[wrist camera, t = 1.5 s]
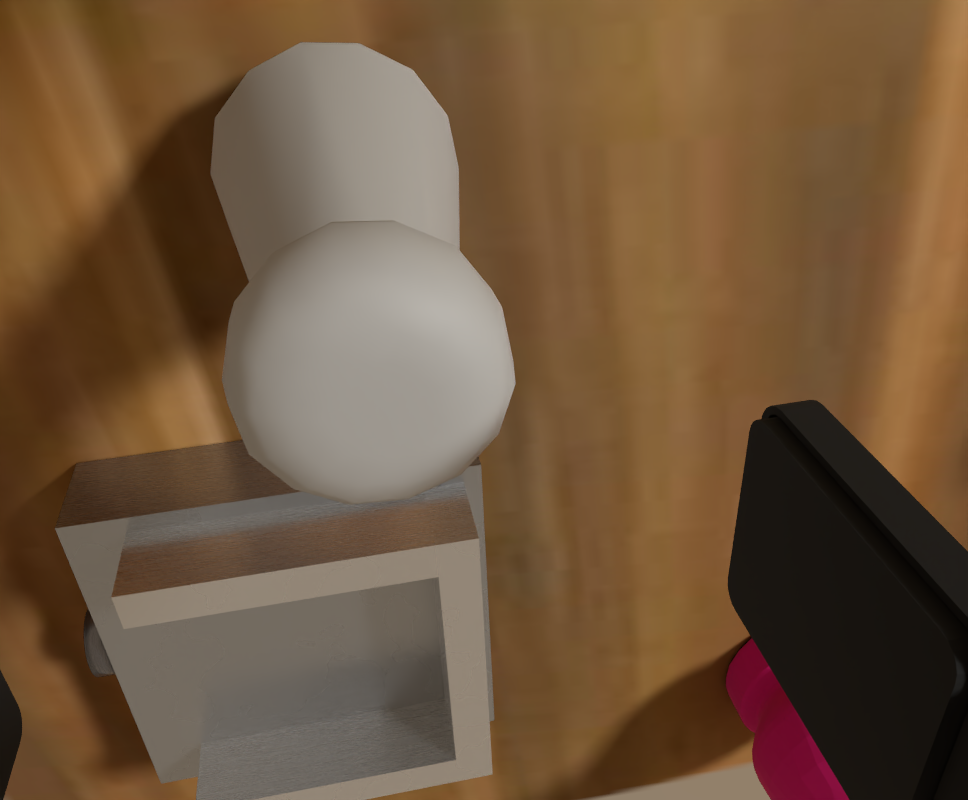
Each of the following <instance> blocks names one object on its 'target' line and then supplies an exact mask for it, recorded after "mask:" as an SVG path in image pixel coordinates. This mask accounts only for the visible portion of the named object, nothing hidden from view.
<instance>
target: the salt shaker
mask: <svg viewBox="0 0 968 800" xmlns="http://www.w3.org/2000/svg"><path fill="white" fill-rule="evenodd" d="M210 174H211V177H212V180H213V183H214V186H215V189H216V191H217V194H218V197H219V200H220V203H221V206H222V209H223V211H224V214H225V217H226V220H227V223H228V226H229V228H230V231H231V234H232V236H233V239H234V242H235V245H236V247H237V250H238V253H239V256H240V258H241V261H242V264H243V267H244V269H245V272H246V275H247V277H248V280H249V283H248V284H247V286H246V287H245V288H244V290H243V291H242V292H241V294H240V295H239V296H238V297H237V299H236V300H235V301H234V304H233V308H232V311H231V315H230V319H229V324H228V332H227V341H226V350H225V359H224V367H223V376H222V382H223V386H224V390H225V394H226V399H227V403H228V406H229V408H230V410H231V413H232V415H233V418H234V420H235V422H236V425H237V427H238V429H239V432H240V434H241V437H242V439H243V441H244V444H245V446H246V449H247V451H248V453H249V455H250V456H252V457H253V458H254V459H256V460H257V461H258V462H259V463H261V464H262V465H263V466H265V467H266V468H267V469H268V470H270V471H271V472H272V473H274V474H275V475H276V476H277V477H279V478H280V479H281V480H283V481H284V482H285V483H286V484H288V485H289V486H290V487H292V488H293V489H295V490H299V491H302V492H306V493H309V494H313V495H316V496H320V497H323V498H327V499H330V500H334V501H338V502H341V503H345V504H348V505H353V504H363V503H373V502H383V501H393V500H403V499H409V498H412V497H414V496H416V495H418V494H420V493H422V492H425V491H427V490H429V489H431V488H433V487H436V486H438V485H440V484H442V483H444V482H447V481H449V480H451V479H453V478H455V477H457V476H460V475H461V474H462V473H463V472H464V471H465V470H466V469H467V468H468V467H469V466H470V465H471V463H472V462H473V461H474V460H475V459H476V458H477V457H478V456H479V455H480V454H481V453H482V451H483V450H484V449H485V448H486V447H487V446H488V445H489V444H490V443H491V442H492V441H493V440H494V438H495V437H496V436H497V435H498V434H499V431H500V428H501V425H502V422H503V419H504V416H505V413H506V410H507V407H508V404H509V401H510V398H511V395H512V393H513V390H514V387H515V374H514V363H513V357H512V353H511V348H510V343H509V338H508V333H507V329H506V324H505V319H504V314H503V309H502V306H501V305H500V303H499V301H498V300H497V298H496V296H495V294H494V293H493V291H492V289H491V288H490V287H489V286H488V284H487V283H486V282H485V281H484V280H483V278H482V277H481V276H480V275H479V274H478V272H477V271H476V270H475V269H474V267H473V266H472V265H471V264H470V263H469V261H468V260H467V259H466V258H465V257H464V255H463V254H462V253H461V252H460V250H459V167H458V163H457V158H456V153H455V148H454V144H453V139H452V134H451V129H450V124H449V120H448V115H447V114H446V113H445V112H444V110H443V109H442V108H441V106H440V105H439V104H438V102H437V101H436V100H435V98H434V97H433V96H432V94H431V93H430V92H429V90H428V89H427V88H426V86H425V85H424V84H423V82H422V81H421V80H420V79H419V77H418V76H417V75H416V73H415V72H414V71H413V70H412V69H410V68H408V67H406V66H404V65H402V64H400V63H398V62H396V61H394V60H392V59H390V58H388V57H386V56H384V55H382V54H380V53H378V52H376V51H374V50H372V49H370V48H368V47H365V46H363V45H361V44H359V43H321V42H301V43H299V44H297V45H295V46H293V47H291V48H289V49H288V50H286V51H284V52H282V53H280V54H278V55H277V56H275V57H273V58H271V59H269V60H267V61H265V62H264V63H262V64H260V65H258V66H256V67H254V68H253V69H251V70H249V71H248V72H247V74H246V75H245V77H244V78H243V79H242V81H241V82H240V84H239V85H238V86H237V88H236V89H235V91H234V92H233V93H232V95H231V96H230V98H229V99H228V100H227V102H226V103H225V105H224V106H223V107H222V109H221V110H220V112H219V113H218V114H217V116H216V117H215V123H214V135H213V147H212V160H211V172H210Z"/></svg>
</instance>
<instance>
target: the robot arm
mask: <svg viewBox="0 0 968 800" xmlns="http://www.w3.org/2000/svg"><path fill="white" fill-rule="evenodd" d="M728 591H729V595H730V599H731V602H732V605H733V607H734V609H735V610H736V612H737V614H738V615H739V617H740V619H741V620H742V622H743V624H744V625H745V627H746V629H747V630H748V632H749V634H750V635H751V637H752V639H753V640H754V642H755V644H756V645H757V647H758V649H759V650H760V652H761V654H762V655H763V657H764V659H765V660H766V662H767V664H768V665H769V667H770V669H771V670H772V672H773V674H774V675H775V677H776V679H777V680H778V682H779V684H780V685H781V687H782V689H783V690H784V692H785V694H786V695H787V697H788V698H789V700H790V702H791V703H792V705H793V707H794V708H795V710H796V712H797V713H798V715H799V717H800V718H801V720H802V722H803V723H804V725H805V727H806V728H807V730H808V732H809V733H810V735H811V737H812V738H813V740H814V742H815V743H816V745H817V747H818V748H819V750H820V752H821V753H822V755H823V757H824V758H825V760H826V762H827V763H828V765H829V767H830V768H831V770H832V772H833V773H834V775H835V777H836V778H837V780H838V782H839V783H840V785H841V786H842V788H843V790H844V791H845V793H846V795H847V796H848V798H849V800H968V551H967V550H966V549H965V548H964V547H963V546H962V545H961V544H960V543H959V542H958V541H957V540H956V539H955V538H954V537H953V536H952V535H951V534H950V533H949V532H948V531H947V530H946V529H945V528H944V527H943V526H942V525H941V524H940V523H939V522H938V521H937V520H936V519H935V518H934V517H933V516H932V515H931V514H930V513H929V512H928V511H927V510H926V509H925V508H924V507H923V506H922V505H921V504H920V503H919V502H918V501H917V500H916V499H915V498H914V497H913V496H912V495H911V494H910V493H909V492H908V491H907V490H906V489H905V488H904V487H903V486H902V485H901V484H900V483H899V482H898V481H897V480H896V479H895V478H894V477H893V476H892V475H891V474H890V473H889V472H888V471H887V469H886V468H885V467H884V466H883V465H882V464H881V463H880V462H879V461H878V460H877V459H876V458H875V457H874V456H873V455H872V454H871V453H870V452H869V451H868V450H867V449H866V448H865V447H864V446H863V445H862V444H861V443H860V442H859V441H858V440H857V439H856V438H855V437H854V436H853V435H852V434H851V433H850V432H849V431H848V430H847V429H846V428H845V427H844V426H843V425H842V424H841V423H840V422H839V421H838V420H837V419H836V418H835V417H834V416H833V415H832V414H831V413H830V412H829V411H828V410H827V409H826V408H825V407H824V406H823V405H822V404H821V403H819V402H818V401H815V400H807V401H800V402H794V403H787V404H780V405H774V406H770V407H768V408H766V410H765V411H764V413H763V415H762V419H760V420H756V421H754V422H753V423H752V425H751V428H750V432H749V439H748V445H747V452H746V459H745V466H744V473H743V480H742V486H741V493H740V500H739V507H738V514H737V520H736V527H735V534H734V541H733V548H732V554H731V561H730V568H729V575H728ZM21 735H22V718H21V713H20V709H19V707H18V704H17V702H16V700H15V698H14V696H13V694H12V692H11V690H10V688H9V686H8V684H7V682H6V681H5V679H4V677H3V675H2V673H1V671H0V800H3V798H4V795H5V791H6V788H7V785H8V781H9V778H10V775H11V771H12V768H13V764H14V761H15V758H16V754H17V751H18V748H19V744H20V740H21Z"/></svg>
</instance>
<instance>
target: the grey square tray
mask: <svg viewBox="0 0 968 800" xmlns="http://www.w3.org/2000/svg"><path fill="white" fill-rule="evenodd" d="M55 530H56V532H57V535H58V537H59V540H60V542H61V544H62V547H63V549H64V552H65V554H66V556H67V559H68V561H69V564H70V566H71V568H72V571H73V573H74V576H75V578H76V580H77V583H78V585H79V587H80V590H81V592H82V595H83V597H84V599H85V602H86V604H87V607H88V609H87V612H86V616H85V621H84V647H85V653H86V658H87V662H88V665H89V668H90V670H91V672H92V673H93V675H94V676H96V677H103V676H109V675H115V674H116V676H117V679H118V681H119V683H120V686H121V688H122V691H123V693H124V695H125V698H126V700H127V703H128V705H129V707H130V710H131V712H132V715H133V717H134V719H135V722H136V724H137V727H138V729H139V731H140V734H141V736H142V739H143V741H144V743H145V746H146V748H147V750H148V753H149V755H150V758H151V760H152V762H153V765H154V767H155V770H156V772H157V774H158V777H159V779H160V782H161V783H166V782H172V781H177V780H182V779H187V778H193V777H198V783H197V794H196V800H366V799H371V798H376V797H381V796H386V795H391V794H396V793H401V792H406V791H411V790H416V789H421V788H426V787H431V786H436V785H441V784H446V783H451V782H456V781H461V780H466V779H471V778H476V777H481V776H487V775H492V758H491V740H490V723H489V721H493V720H494V705H493V686H492V667H491V648H490V629H489V609H488V590H487V571H486V552H485V533H484V514H483V495H482V475H481V464H480V460H479V457H477V458H476V459H475V460H474V461H473V462H472V463H471V465H470V466H469V467H468V468H467V469H466V470H465V471H464V472H463V473H462V474H461V475H460V476H457V477H455V478H453V479H451V480H449V481H447V482H444V483H442V484H440V485H438V486H436V487H433V488H431V489H429V490H427V491H425V492H422V493H420V494H418V495H416V496H414V497H412V498H409V499H403V500H393V501H383V502H373V503H363V504H353V505H348V504H345V503H341V502H338V501H334V500H330V499H327V498H323V497H320V496H316V495H313V494H309V493H306V492H302V491H299V490H295V489H293V488H292V487H290V486H289V485H288V484H286V483H285V482H284V481H283V480H281V479H280V478H279V477H277V476H276V475H275V474H274V473H272V472H271V471H270V470H268V469H267V468H266V467H265V466H263V465H262V464H261V463H259V462H258V461H257V460H256V459H254V458H253V457H252V456H250V455H249V453H248V451H247V449H246V446H245V444H244V441H243V440H242V441H235V442H227V443H220V444H213V445H206V446H199V447H192V448H184V449H177V450H170V451H163V452H156V453H149V454H142V455H134V456H127V457H120V458H113V459H106V460H99V461H92V462H84V463H77V464H76V466H75V469H74V472H73V475H72V478H71V481H70V484H69V487H68V490H67V493H66V496H65V499H64V503H63V506H62V509H61V512H60V515H59V518H58V521H57V524H56V527H55Z"/></svg>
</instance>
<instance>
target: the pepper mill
mask: <svg viewBox="0 0 968 800" xmlns="http://www.w3.org/2000/svg"><path fill="white" fill-rule="evenodd" d="M726 688H727V691H728V694H729V696H730V698H731V700H732V702H733V704H734V706H735V708H736V710H737V712H738V714H739V716H740V718H741V720H742V722H743V723H744V725H745V726H746V727H747V728H748V729H749V730H751V731H752V732H754V733H755V737H754V743H753V748H752V756H753V764H754V768H755V771H756V774H757V776H758V779H759V781H760V782H761V784H762V785H763V787H764V789H765V791H766V792H767V794H768V795H769V797H770V799H771V800H849V798H848V796H847V795H846V793H845V791H844V790H843V788H842V786H841V785H840V783H839V782H838V780H837V778H836V777H835V775H834V773H833V772H832V770H831V768H830V767H829V765H828V763H827V762H826V760H825V758H824V757H823V755H822V753H821V752H820V750H819V748H818V747H817V745H816V743H815V742H814V740H813V738H812V737H811V735H810V733H809V732H808V730H807V728H806V727H805V725H804V723H803V722H802V720H801V718H800V717H799V715H798V713H797V712H796V710H795V708H794V707H793V705H792V703H791V702H790V700H789V698H788V697H787V695H786V694H785V692H784V690H783V689H782V687H781V685H780V684H779V682H778V680H777V679H776V677H775V675H774V674H773V672H772V670H771V669H770V667H769V665H768V664H767V662H766V660H765V659H764V657H763V655H762V654H761V652H760V650H759V649H758V647H757V645H756V644H755V642H754V640H753V639H752V638H751V639H750V640H749V641H748V642H747V643H746V644H745V645H744V646H743V647H742V648H741V649H740V650H739V651H738V653H737V654H736V656H735V657H734V659H733V660H732V662H731V663H730V665H729V668H728V672H727V676H726Z"/></svg>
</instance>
